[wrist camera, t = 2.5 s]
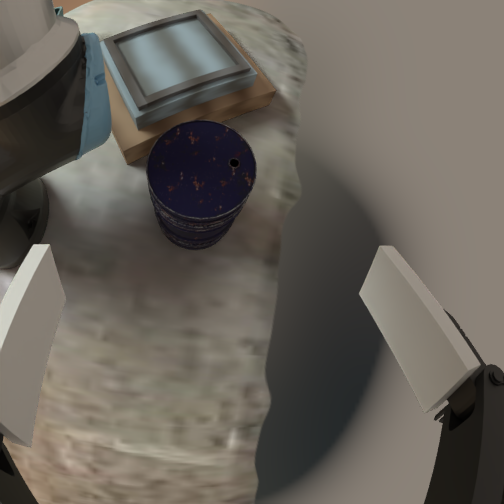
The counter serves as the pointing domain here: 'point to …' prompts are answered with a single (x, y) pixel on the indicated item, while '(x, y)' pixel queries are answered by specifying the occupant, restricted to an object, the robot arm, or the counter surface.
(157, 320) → the counter surface
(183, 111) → the tower base
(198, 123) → the dark blue cylinder
